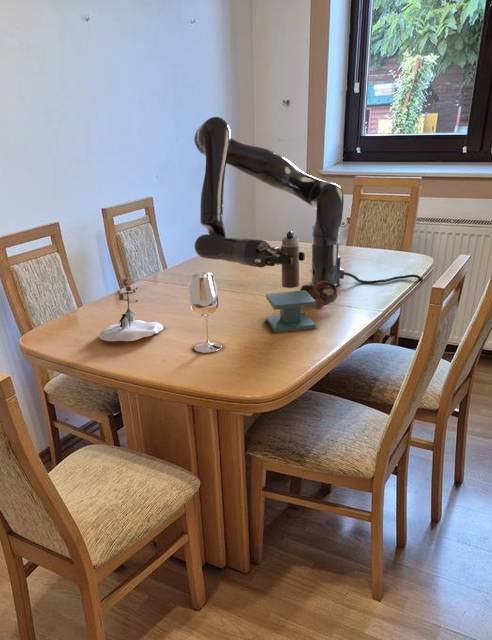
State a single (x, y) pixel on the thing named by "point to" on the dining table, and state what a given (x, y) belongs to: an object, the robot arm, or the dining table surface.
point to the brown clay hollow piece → (321, 293)
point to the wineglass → (204, 305)
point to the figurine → (129, 324)
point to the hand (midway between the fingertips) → (297, 258)
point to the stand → (290, 311)
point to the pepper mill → (292, 271)
